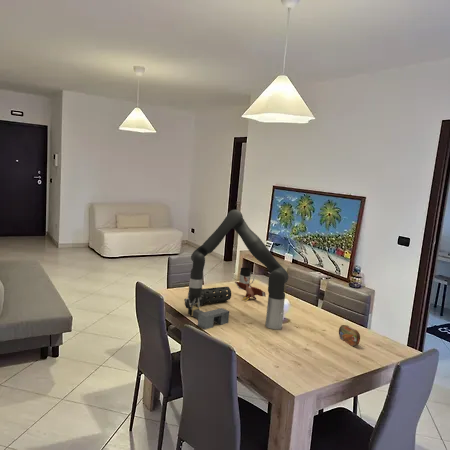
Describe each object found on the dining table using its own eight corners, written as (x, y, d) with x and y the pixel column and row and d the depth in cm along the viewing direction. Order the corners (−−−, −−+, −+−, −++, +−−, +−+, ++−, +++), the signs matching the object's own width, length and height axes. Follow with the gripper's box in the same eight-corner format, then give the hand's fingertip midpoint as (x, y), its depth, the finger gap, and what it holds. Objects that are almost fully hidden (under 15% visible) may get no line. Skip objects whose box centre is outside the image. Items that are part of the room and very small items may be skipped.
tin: (337, 337, 226) (339, 322, 225) (342, 336, 227) (344, 322, 226) (355, 348, 212) (357, 333, 211) (360, 348, 213) (362, 332, 212)
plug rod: (212, 321, 232) (212, 313, 232) (206, 322, 229) (207, 315, 229) (193, 312, 243) (194, 305, 243) (187, 314, 240) (188, 307, 240)
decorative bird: (221, 291, 281) (229, 271, 284) (238, 298, 293) (246, 278, 296) (251, 303, 261) (260, 281, 263) (268, 310, 273) (276, 289, 275)
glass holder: (244, 286, 315) (246, 266, 314) (257, 290, 305) (259, 271, 303) (235, 287, 310) (237, 267, 308) (248, 292, 299) (250, 272, 297)
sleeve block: (228, 322, 233) (229, 311, 232) (204, 329, 220) (206, 316, 219) (220, 319, 237) (221, 308, 236) (197, 325, 224) (198, 313, 223)
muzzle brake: (231, 303, 269) (232, 288, 268) (193, 308, 254) (195, 291, 253) (223, 299, 277) (224, 284, 276) (186, 303, 262) (187, 287, 260)
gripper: (200, 282, 246) (198, 310, 248) (182, 285, 235) (179, 314, 237) (209, 285, 240) (206, 314, 242) (190, 289, 230) (188, 318, 232)
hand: (193, 314), depth 240 cm, fingers closed on plug rod, 4 cm apart
